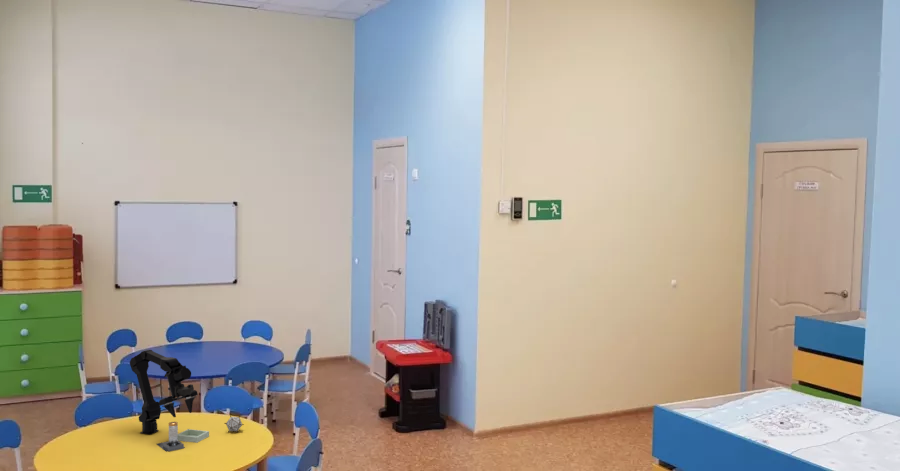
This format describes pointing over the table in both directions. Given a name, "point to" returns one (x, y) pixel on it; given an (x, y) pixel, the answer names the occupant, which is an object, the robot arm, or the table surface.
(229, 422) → the game die
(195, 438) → the tray
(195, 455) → the table surface
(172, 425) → the pin
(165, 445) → the grey slab
